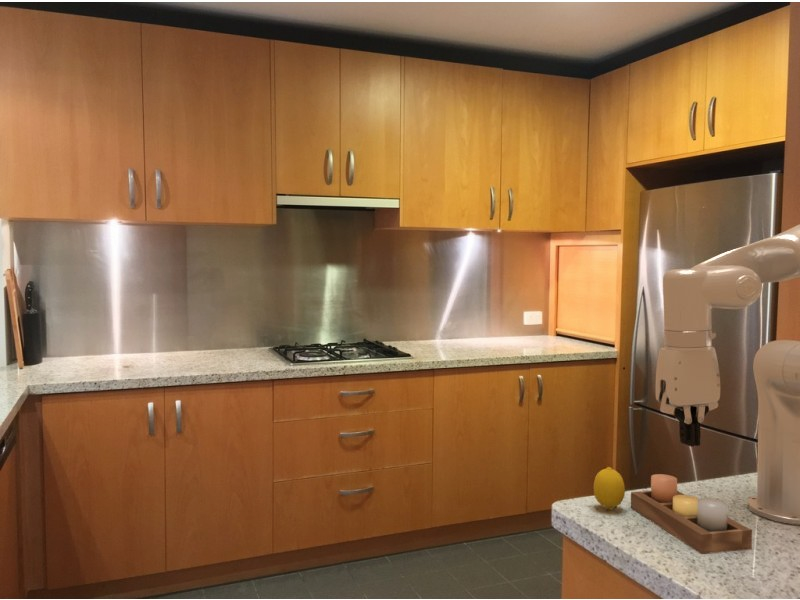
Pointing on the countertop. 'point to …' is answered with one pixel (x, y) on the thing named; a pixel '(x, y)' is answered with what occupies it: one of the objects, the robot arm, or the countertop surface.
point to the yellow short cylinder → (685, 505)
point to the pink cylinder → (663, 488)
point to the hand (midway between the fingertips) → (690, 443)
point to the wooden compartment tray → (691, 526)
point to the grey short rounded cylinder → (712, 514)
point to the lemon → (609, 488)
